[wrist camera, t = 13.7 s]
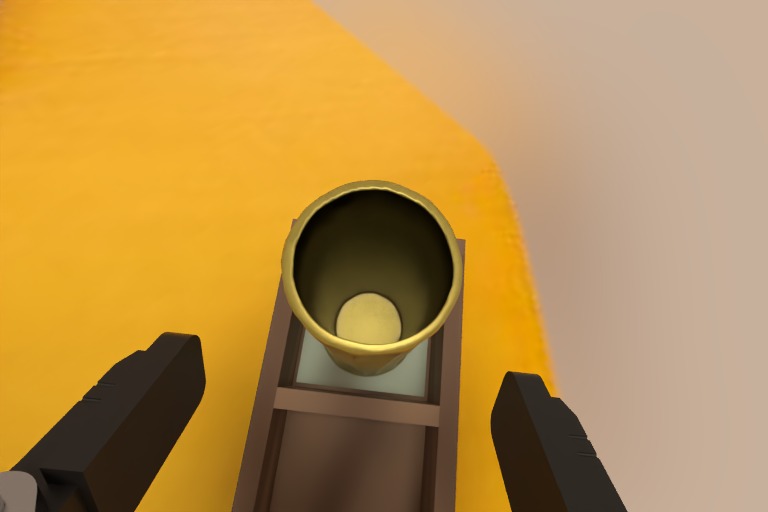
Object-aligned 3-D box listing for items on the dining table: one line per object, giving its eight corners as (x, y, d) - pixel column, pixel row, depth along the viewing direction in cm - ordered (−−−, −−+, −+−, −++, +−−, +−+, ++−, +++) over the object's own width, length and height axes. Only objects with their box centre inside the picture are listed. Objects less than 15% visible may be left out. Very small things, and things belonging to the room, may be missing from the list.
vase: (383, 266, 25) (405, 136, 12) (432, 343, 24) (524, 296, 10) (304, 312, 24) (226, 225, 10) (351, 396, 22) (332, 424, 9)
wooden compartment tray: (242, 581, 20) (202, 646, 15) (306, 248, 27) (292, 218, 22) (428, 601, 20) (448, 672, 15) (447, 265, 27) (465, 239, 22)
